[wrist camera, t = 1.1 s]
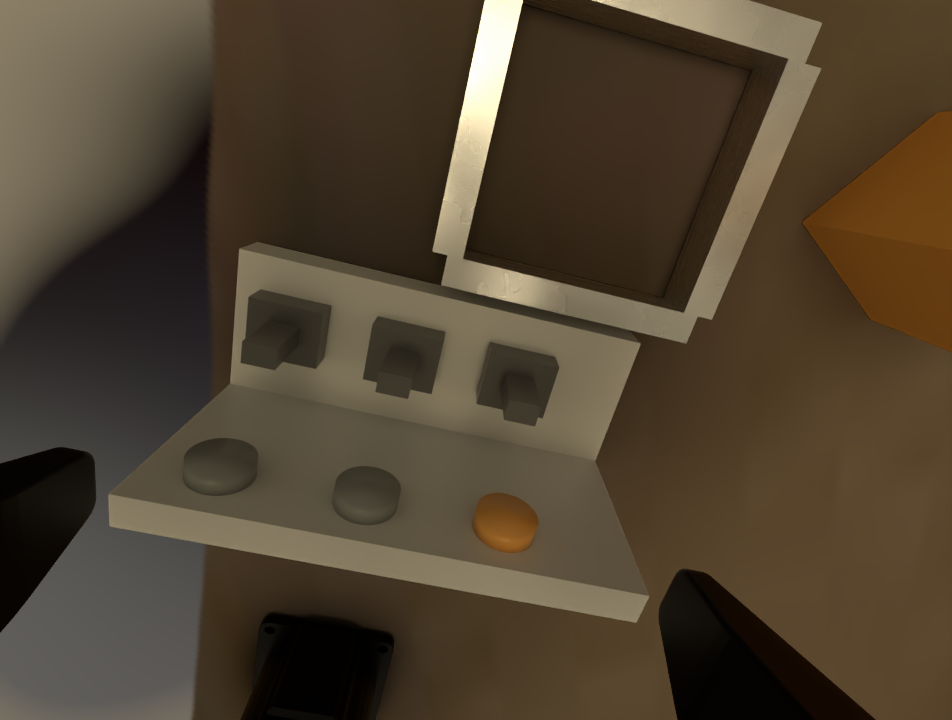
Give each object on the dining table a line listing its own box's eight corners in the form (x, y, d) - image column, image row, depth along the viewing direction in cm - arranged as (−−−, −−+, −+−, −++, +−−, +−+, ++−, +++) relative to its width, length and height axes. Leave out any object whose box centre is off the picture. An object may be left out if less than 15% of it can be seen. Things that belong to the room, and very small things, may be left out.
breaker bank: (579, 460, 21) (636, 622, 14) (245, 390, 20) (109, 526, 13) (628, 330, 19) (726, 438, 12) (257, 241, 18) (101, 299, 10)
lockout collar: (677, 328, 19) (700, 346, 17) (430, 269, 18) (426, 281, 16) (795, 43, 16) (838, 28, 14) (497, -46, 15) (500, -76, 13)
